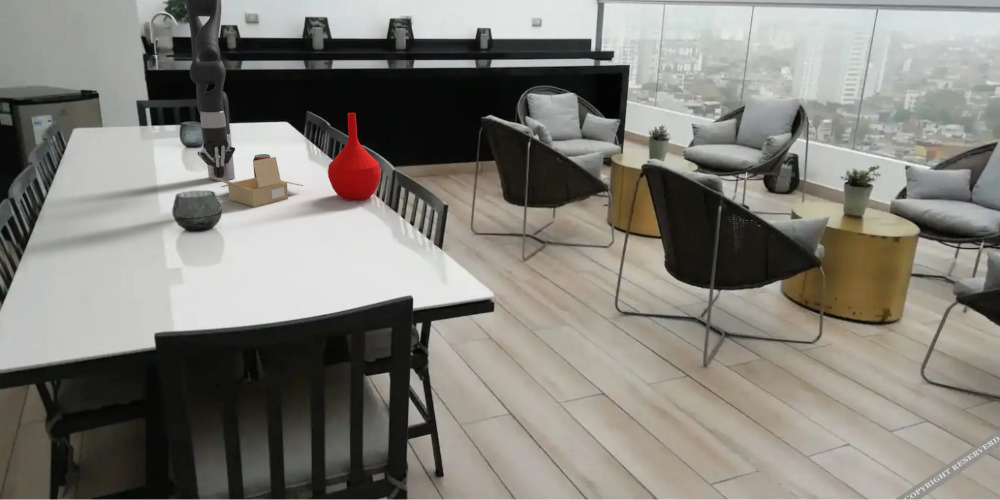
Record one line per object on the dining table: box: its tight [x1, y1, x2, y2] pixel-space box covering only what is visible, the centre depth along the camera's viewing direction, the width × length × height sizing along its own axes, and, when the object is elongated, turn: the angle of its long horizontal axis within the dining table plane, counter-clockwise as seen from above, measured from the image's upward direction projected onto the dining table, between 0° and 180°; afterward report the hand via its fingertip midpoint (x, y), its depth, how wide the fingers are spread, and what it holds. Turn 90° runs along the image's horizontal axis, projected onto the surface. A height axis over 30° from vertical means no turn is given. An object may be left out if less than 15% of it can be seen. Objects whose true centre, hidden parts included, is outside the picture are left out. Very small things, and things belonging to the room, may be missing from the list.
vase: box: [327, 112, 382, 202], centre depth 258 cm, size 18×18×30 cm
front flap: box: [252, 156, 282, 187], centre depth 251 cm, size 9×9×1 cm
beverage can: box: [252, 153, 272, 178], centre depth 272 cm, size 7×7×12 cm
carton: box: [219, 177, 304, 208], centre depth 262 cm, size 23×23×6 cm
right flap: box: [208, 175, 247, 189], centre depth 246 cm, size 9×9×1 cm
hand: (219, 177), depth 243 cm, fingers closed
